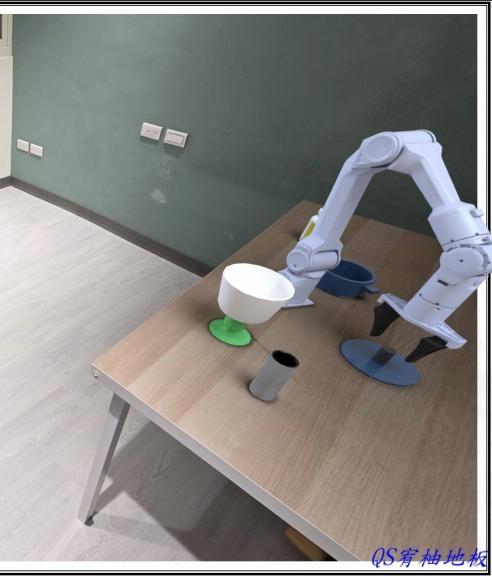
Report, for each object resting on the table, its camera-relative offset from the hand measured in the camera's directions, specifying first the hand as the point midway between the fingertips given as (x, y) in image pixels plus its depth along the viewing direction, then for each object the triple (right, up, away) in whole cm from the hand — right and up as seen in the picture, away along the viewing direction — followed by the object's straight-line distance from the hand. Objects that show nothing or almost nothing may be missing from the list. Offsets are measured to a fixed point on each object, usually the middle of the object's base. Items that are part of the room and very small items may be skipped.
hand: (391, 347), depth 80 cm
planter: (-30, -9, -3) cm, 32 cm away
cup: (-28, +2, +11) cm, 30 cm away
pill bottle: (+21, +28, +45) cm, 57 cm away
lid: (0, -4, +3) cm, 5 cm away
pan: (+13, +14, +26) cm, 32 cm away
